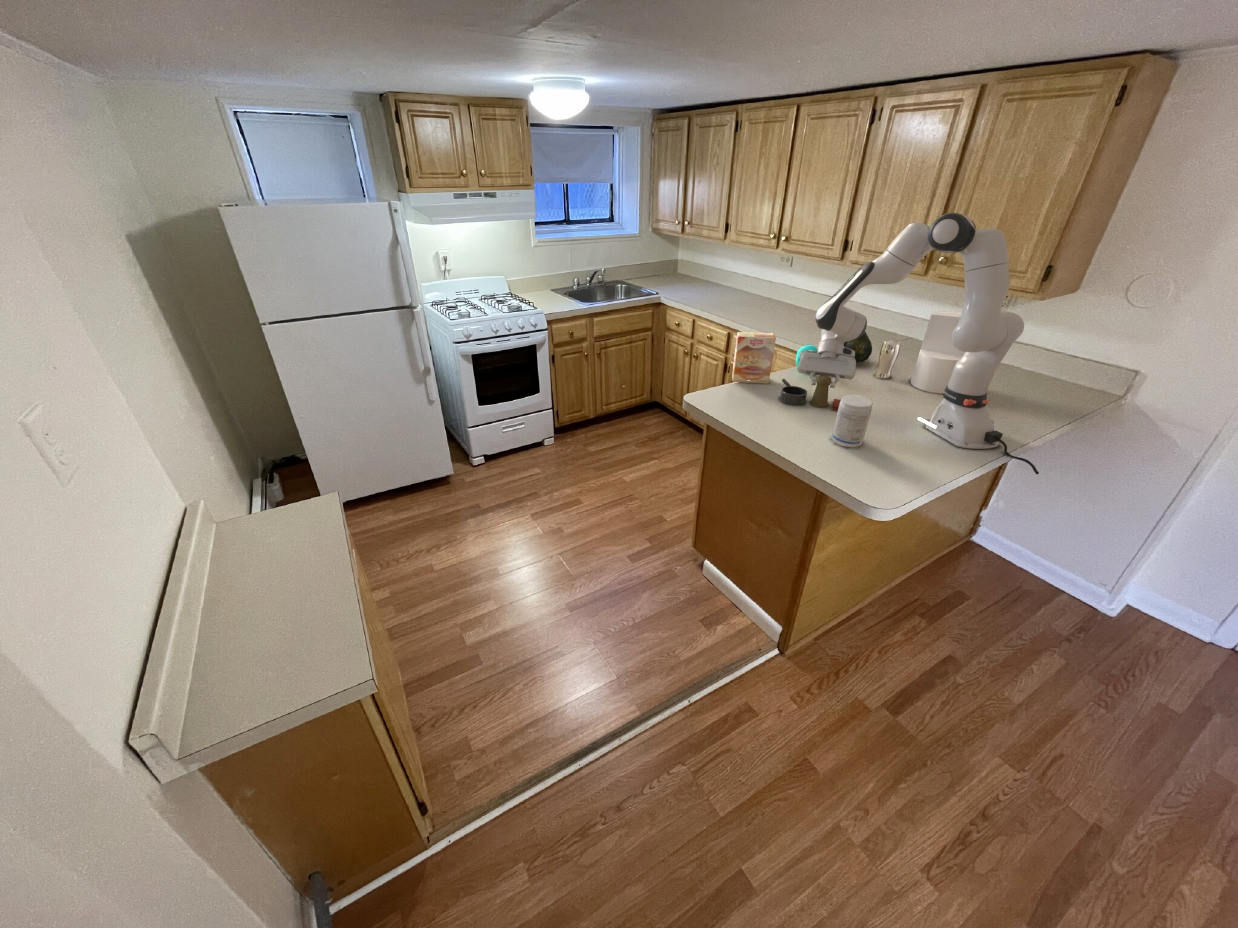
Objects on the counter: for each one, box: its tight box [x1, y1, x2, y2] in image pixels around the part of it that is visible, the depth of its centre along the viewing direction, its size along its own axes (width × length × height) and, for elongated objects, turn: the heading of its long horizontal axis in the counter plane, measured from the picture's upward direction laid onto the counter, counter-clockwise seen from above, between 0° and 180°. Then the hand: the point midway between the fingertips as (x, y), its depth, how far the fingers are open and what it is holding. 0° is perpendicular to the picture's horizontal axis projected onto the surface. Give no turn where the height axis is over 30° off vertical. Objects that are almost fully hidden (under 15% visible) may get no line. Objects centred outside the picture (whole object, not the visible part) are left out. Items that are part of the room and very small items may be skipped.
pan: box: [779, 385, 808, 406], centre depth 196 cm, size 9×9×4 cm
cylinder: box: [910, 311, 965, 395], centre depth 202 cm, size 17×17×28 cm
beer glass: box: [874, 339, 902, 380], centre depth 214 cm, size 7×7×15 cm
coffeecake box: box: [731, 331, 777, 384], centre depth 210 cm, size 15×7×20 cm, turn 82°
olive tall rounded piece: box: [810, 375, 832, 408], centre depth 191 cm, size 6×6×11 cm
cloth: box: [831, 398, 841, 412], centre depth 190 cm, size 8×7×1 cm
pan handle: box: [781, 378, 792, 387], centre depth 202 cm, size 8×1×1 cm, turn 3°
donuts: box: [795, 344, 818, 368], centre depth 223 cm, size 10×10×10 cm
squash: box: [844, 331, 873, 365], centre depth 232 cm, size 14×15×15 cm
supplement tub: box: [831, 394, 874, 448], centre depth 164 cm, size 10×10×15 cm
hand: (822, 385), depth 189 cm, fingers closed on olive tall rounded piece, 5 cm apart
